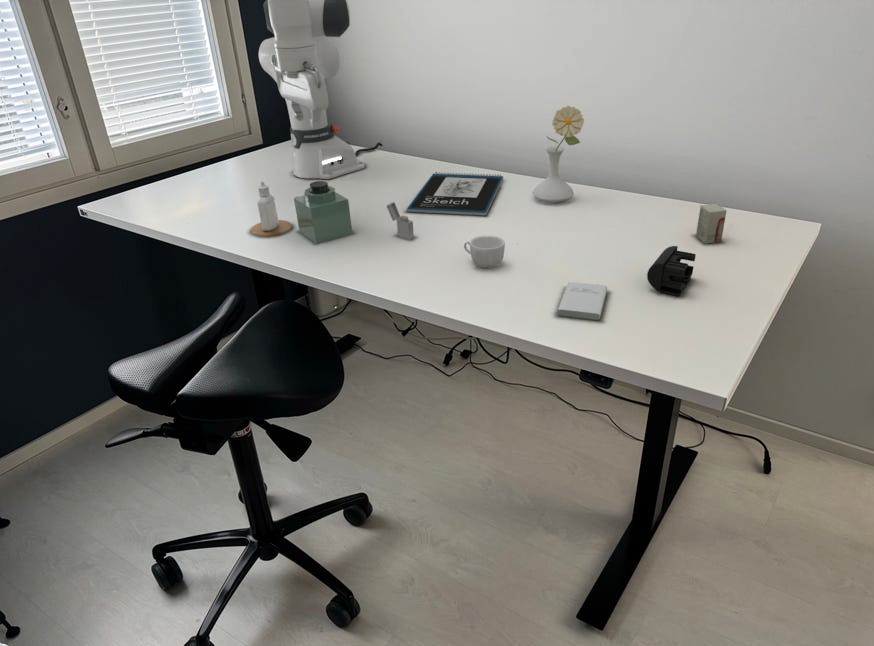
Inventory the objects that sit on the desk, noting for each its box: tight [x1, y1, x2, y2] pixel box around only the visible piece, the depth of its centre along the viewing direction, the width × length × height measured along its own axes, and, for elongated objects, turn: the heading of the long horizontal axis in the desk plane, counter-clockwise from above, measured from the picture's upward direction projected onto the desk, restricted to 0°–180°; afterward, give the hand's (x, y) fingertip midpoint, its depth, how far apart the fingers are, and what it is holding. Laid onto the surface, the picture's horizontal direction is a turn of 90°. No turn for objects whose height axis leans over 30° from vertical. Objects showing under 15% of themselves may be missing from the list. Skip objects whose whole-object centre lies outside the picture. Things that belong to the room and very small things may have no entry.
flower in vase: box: [532, 105, 585, 203], centre depth 181 cm, size 13×11×25 cm
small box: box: [695, 203, 728, 244], centre depth 159 cm, size 5×4×8 cm
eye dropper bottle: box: [257, 180, 279, 231], centre depth 171 cm, size 4×6×12 cm
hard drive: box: [557, 281, 608, 321], centre depth 136 cm, size 2×8×12 cm
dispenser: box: [293, 185, 353, 244], centre depth 169 cm, size 10×10×11 cm
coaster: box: [251, 219, 292, 238], centre depth 174 cm, size 10×10×1 cm
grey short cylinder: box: [309, 180, 329, 194], centre depth 165 cm, size 4×4×2 cm
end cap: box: [646, 245, 697, 297], centre depth 140 cm, size 10×7×7 cm
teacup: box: [463, 235, 506, 269], centre depth 152 cm, size 10×8×5 cm
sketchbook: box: [406, 171, 504, 217], centre depth 192 cm, size 22×30×2 cm
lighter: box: [386, 201, 415, 240], centre depth 166 cm, size 7×2×8 cm, turn 51°
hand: (307, 123), depth 157 cm, fingers open, 8 cm apart
